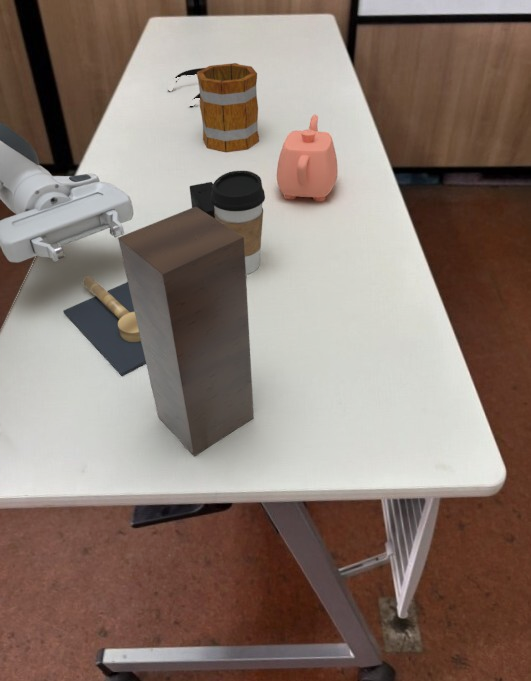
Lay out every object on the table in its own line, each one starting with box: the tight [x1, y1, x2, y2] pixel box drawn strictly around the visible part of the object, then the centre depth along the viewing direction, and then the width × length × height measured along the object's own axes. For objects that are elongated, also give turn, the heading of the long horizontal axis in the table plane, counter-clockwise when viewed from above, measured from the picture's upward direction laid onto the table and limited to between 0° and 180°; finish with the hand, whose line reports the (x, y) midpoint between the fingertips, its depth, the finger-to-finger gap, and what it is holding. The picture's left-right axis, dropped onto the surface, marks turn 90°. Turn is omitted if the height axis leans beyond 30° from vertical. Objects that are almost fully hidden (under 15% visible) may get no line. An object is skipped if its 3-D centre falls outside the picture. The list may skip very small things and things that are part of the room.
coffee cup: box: [211, 170, 266, 275], centre depth 91 cm, size 8×8×15 cm
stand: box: [117, 207, 255, 457], centre depth 63 cm, size 8×9×26 cm
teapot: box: [276, 114, 339, 202], centre depth 112 cm, size 20×12×12 cm, turn 170°
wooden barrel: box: [196, 62, 260, 153], centre depth 132 cm, size 20×14×15 cm
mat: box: [62, 281, 146, 377], centre depth 85 cm, size 18×12×1 cm, turn 40°
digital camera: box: [189, 181, 215, 218], centre depth 102 cm, size 10×5×7 cm, turn 20°
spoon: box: [82, 275, 141, 342], centre depth 86 cm, size 18×5×2 cm, turn 40°
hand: (89, 243), depth 81 cm, fingers open, 8 cm apart
